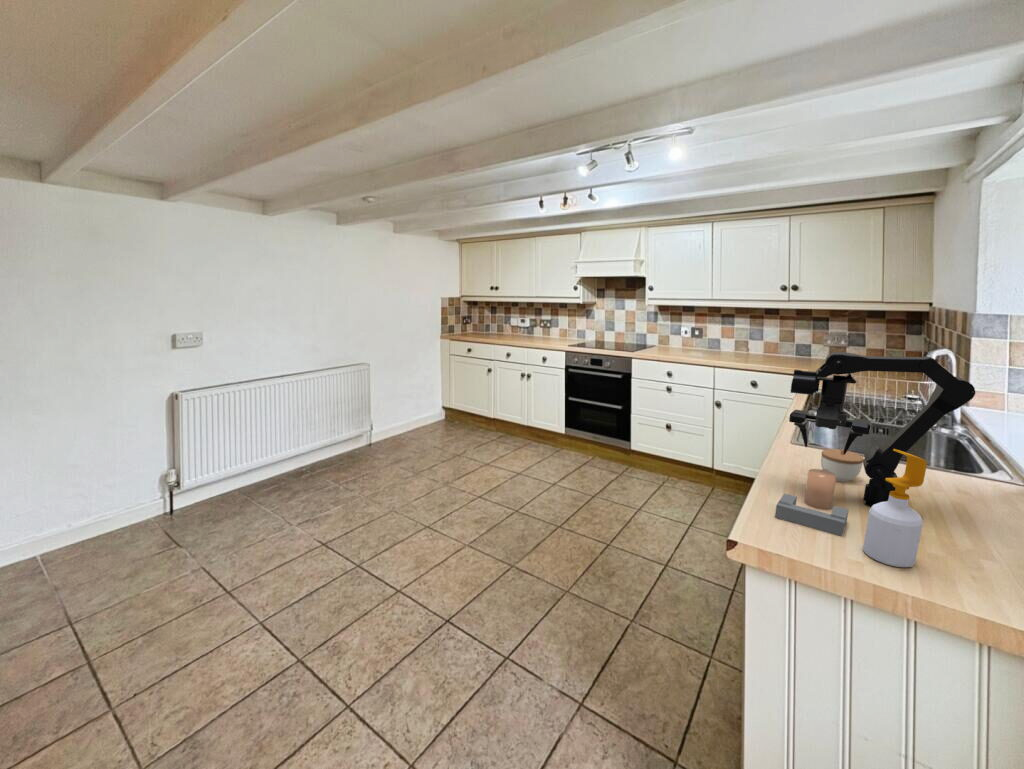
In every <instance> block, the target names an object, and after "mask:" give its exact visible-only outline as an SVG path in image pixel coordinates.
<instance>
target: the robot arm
mask: <svg viewBox="0 0 1024 769" xmlns="http://www.w3.org/2000/svg"><path fill="white" fill-rule="evenodd" d="M862 372H891V373H892V372H894V373H897V372H898V373H922V374H924V375H925V376H926V377H928V378H929V379H930V380H931V381H933V382H934V383H935V384H936V385H937V386H936V387H935V388H934V390H933V391H932V393H931V396H930V397H929V399H928V401H927V403H926V404H925V405H924V406H923V408H921V409H920V411H918V412H917V413H916V414H915V416H914V417H912V418H911V419H910V420H909V422H908V423H906V425H904V426H903V427H902V429H901V430H899V431H898V432H897V433H896V434H895V435H894V436H893V437H892V438H891V440H889V442H887V443H886V444H885V445H882V446H880V447H878V445H876V444H874V445H872V447H871V448H870V450H869V451H868V452H867V453H864V454H863V458H864V460H863V464H862V466H863V468H864V472H865V474H866V476H867V477H869V480H868V483H865V487H864V492H863V501H864V505H865V506H869V507H872V506H873V505H874V504H877V503H880V502H886V501H888V499H889V494H890V491H895V487H894V486H893V484H892V483H890V482H888V481H886V480H885V479H886V478H899V477H898V475H897V473H896V472H895V471H896V469H897V468H898V466H899V464H900V461H901V460H902V458H903V456H905V455H904V454H901V453H899V452H896V451H893V449H896V450H899V451H903V452H906V453H908V451H909V450H911V449H912V448H913V447H914V445H915V444H917V442H918V441H919V440H920V439H921V438H923V437H924V435H926V434H927V432H929V431H930V430H931V429H932V428H933V427H934V426H935V425H936V424H937V423H938V422H939V421H940V420H941V419H942V418H943V417H944V416H946V415H947V414H949V413H952V412H953V411H955V410H957V409H960V408H961V407H963V406H965V404H967V403H969V401H971V400H972V399H974V397H975V396H976V389H975V388H976V387H975V386H974V385H973V384H972V383H970V382H969V381H968V380H966V379H965V378H963V377H960V376H954V375H953V373H951V372H950V371H948V370H947V369H946V368H944V367H943V366H942V365H941V364H939V361H937V359H935V358H933V357H931V356H927V355H926V356H883V355H882V356H881V355H880V356H877V355H876V356H875V355H873V356H871V355H870V356H867V355H861V354H857V353H852V352H844V351H832V352H831V353H829V354H828V355H827V356H826V357H825V361H824V363H823V364H822V365H821V366H820V367H819V368H818V369H817V370H816V371H810V370H801V369H794V370H793V376H792V379H791V385H790V393H792V394H799V395H801V394H802V395H810V396H814V394H816V393H818V392H819V389H820V383H821V382H820V381H822V383H821V391H820V398H819V402H818V403H819V404H818V408H817V409H816V414H815V415H814V414H810V411H809V410H802V409H794V410H793V411H792V412H791V413H790V414H789V420H788V421H789V422H790V423H793V425H794V426H795V427H796V426H797V428H798V429H799V431H800V432H801V436H802V440H803V444H804V447H805V448H807V447H808V443H809V433H810V432H809V430H810V422H811V423H815V425H814V426H815V427H817V428H826V429H829V430H836V429H837V426H838V427H843V428H850V431H849V433H848V436H847V439H846V442H845V446H844V448H843V449H844V454H846V452H847V451H848V450H849V449H850V448H851V445H852V444H853V442H854V441H855V439H857V438H858V437H863V436H864V435H870V433H871V429H872V424H873V423H872V421H871V420H868V419H862V418H854V419H853V421H852V420H848V412H846V411H844V408H845V402H846V395H847V394H846V393H847V390H848V384H854V385H855V384H856V383H857V380H856V379H855V378H854V376H853V375H852V374H855V373H862ZM830 376H832V377H830Z"/></svg>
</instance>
